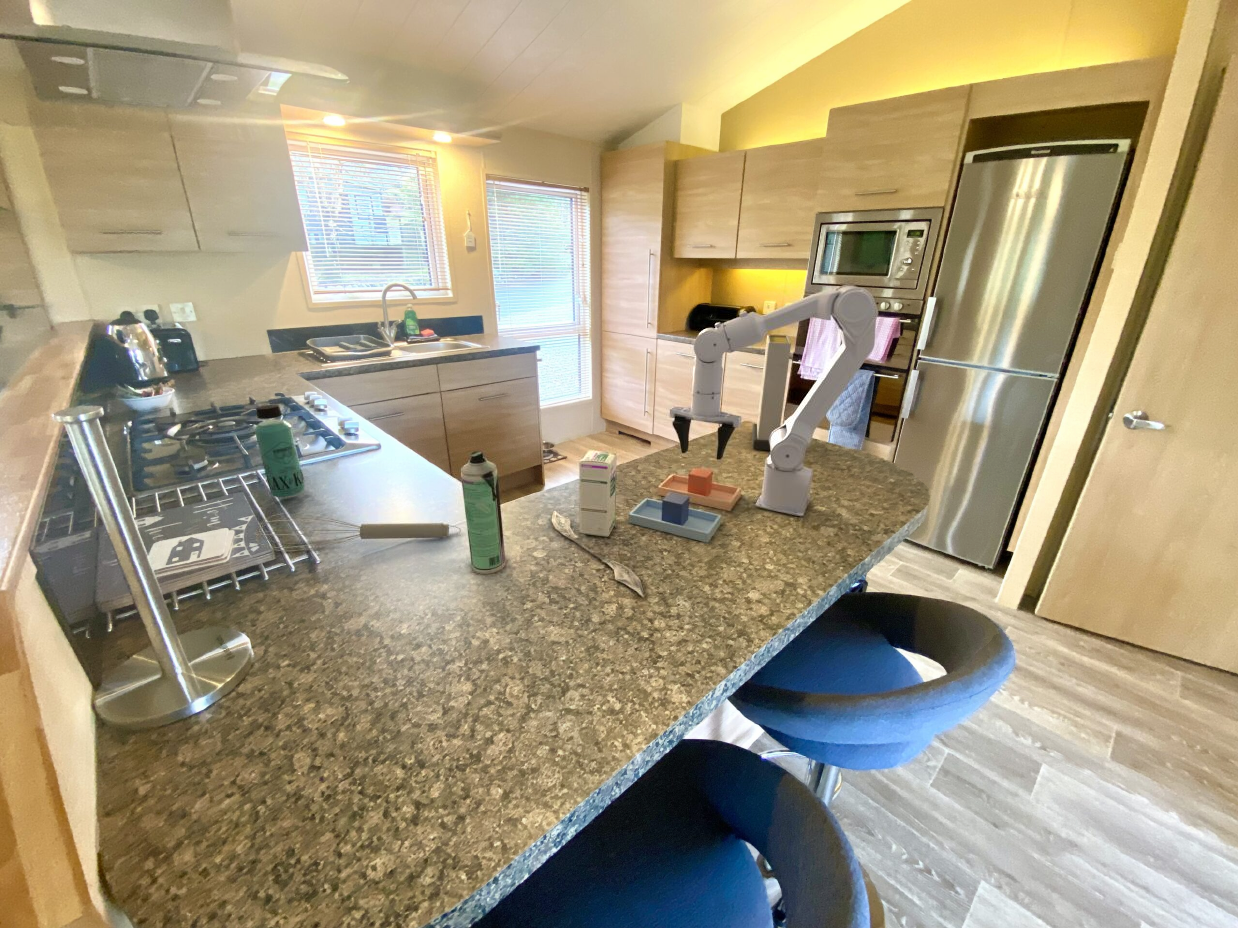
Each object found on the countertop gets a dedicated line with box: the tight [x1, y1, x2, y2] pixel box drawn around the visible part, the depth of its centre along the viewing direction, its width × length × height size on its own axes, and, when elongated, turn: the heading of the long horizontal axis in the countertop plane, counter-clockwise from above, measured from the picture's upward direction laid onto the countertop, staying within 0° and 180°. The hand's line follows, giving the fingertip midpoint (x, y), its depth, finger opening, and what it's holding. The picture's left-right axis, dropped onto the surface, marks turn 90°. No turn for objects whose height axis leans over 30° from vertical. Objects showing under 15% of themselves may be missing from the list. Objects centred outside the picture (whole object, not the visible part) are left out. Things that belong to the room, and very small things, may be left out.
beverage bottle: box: [253, 403, 306, 498], centre depth 105 cm, size 6×7×20 cm
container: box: [752, 334, 792, 452], centre depth 138 cm, size 7×18×30 cm, turn 167°
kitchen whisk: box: [253, 513, 462, 552], centre depth 91 cm, size 6×34×6 cm, turn 99°
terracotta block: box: [687, 467, 714, 496], centre depth 110 cm, size 4×4×5 cm
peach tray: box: [657, 473, 742, 512], centre depth 111 cm, size 16×8×2 cm, turn 62°
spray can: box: [460, 450, 506, 575], centre depth 82 cm, size 6×6×20 cm
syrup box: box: [578, 450, 618, 538], centre depth 95 cm, size 6×6×14 cm
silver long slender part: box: [551, 510, 644, 598], centre depth 90 cm, size 32×1×5 cm
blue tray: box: [628, 497, 723, 544], centre depth 99 cm, size 16×8×2 cm, turn 62°
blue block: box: [661, 492, 690, 526], centre depth 99 cm, size 4×4×5 cm
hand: (701, 454), depth 108 cm, fingers open, 7 cm apart
